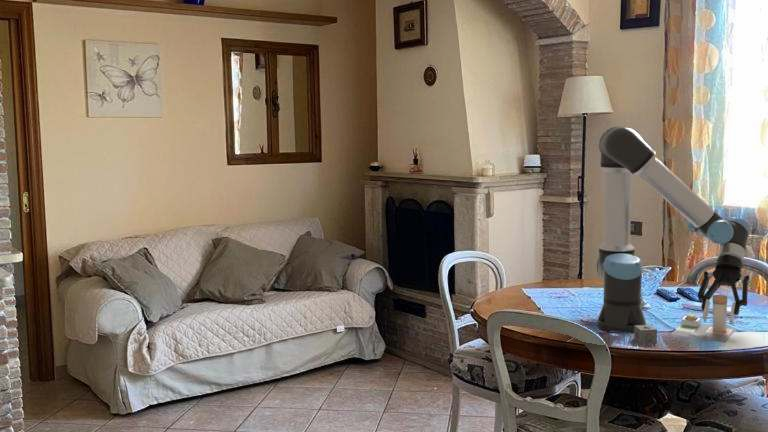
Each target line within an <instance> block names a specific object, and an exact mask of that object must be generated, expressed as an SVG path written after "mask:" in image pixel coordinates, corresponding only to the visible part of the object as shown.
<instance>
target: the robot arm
mask: <svg viewBox="0 0 768 432" xmlns="http://www.w3.org/2000/svg"><path fill="white" fill-rule="evenodd" d="M598 148H599V152H600V169H601V170H602V171H604V200H603V201H604V209H603V211H604V212H603V214H604V215H603V241H602V243H601V244H600V245H599V246H598V258H597V261H596V262H597V263H596V272H597V275H598V276H599V278H600V280H601V281H602V282H603V303H602V307H601V308H600V311H599V315H598V317H597V327H598V329H600V330H602V331H605V332H608V333H615V334H616V333H620V332H621V333H634V326H636V325H647V321H646V318H645V315H644V311H643V309H642V281H643V280H642V279H643V277H642V275H643V264H642V260H641V259H640V258H639V257H638V256H636V255H635V251H636V250H635V249H636V248H635V247H634V245H633V244H631V219H632V216H631V215H632V214H631V213H632V182H633V180H632V175H637V176H639V177H640V178H641V179H642V180H643V181H644V182H646V183H647V185H649V186H650V187H651V189H653V190H654V191H655V192H656V193H658V194H659V195H660V196H661V197H662V198H663V199H664V200H665V201H666V202H668V204H669V205H671V206H672V207H673V208H674V209H675V210H677V212H678V213H680V214H681V215H682V217H684V218H685V219H686V223H685V226H686V228H687V229H688V230H690V231H691V232H693V233H697V234H698V235H701V236H702V237H704V238H706V239H708V240H709V242H712V243H713V244H718V245H719V246H720V247H719V250H718V255H717V261H716V264H715V267H714V270H713V272H708V271H703V279H702V282H701V284H700V286H699V287H700V288H699V289H698V292H697V300H699V301H702V302H701V307H700V308H701V311H703V314H702V320H703V322H707V320H708V315H709V311H710V305H711V302H710V300H711V299H712V298H713V295H714V294H715V293H716V292H717V290H718V289H719V288H720V287H721V286H723V287H724V286H727V287H731V290H732V295H733V298H734V302H733V301H732V303H731V310H730V313H729V319H728V321H729V325H731V326H733V325H734V320H735V316H738V315H739V313H740V309H741V307H742V306H744V307H745V306H746V307H747V306H748V287H749V284H750V282H751V279H750V275H747V274H746V275H742V273H741V272H742V269H743V268H742V267H743V262H744V258H745V251H746V248H747V247H746V246H747V242H748V238H749V231H750V224H749V222H748V221H747V220H745V219H744V218H741V217H734V216H733V217H729V218H727V219H724V218H723V217H722V216H720V215H719V214H718V213H717V212H716V211H715V210H714V209H713V208H711V207H710V205H709V204H707V203H706V202H705V200H703V199H702V198H701V197H700V196H698V195H697V194H696V192H694V191H693V190H692V189H691V188H690V187H689V186H688V185H687V184H686V183H684V182H683V180H681V179H680V178H679V177H678V176H677V175H676V174H675V173H673V172H672V171H671V169H670V168H668V167H667V166H666V164H664V163H663V162H662V161H660V159H659V158H657V156H656V151H655V150H654V149H652V148H651V146H650V145H648V143H647V142H645V140H644V139H643V137H641V135H640V134H639V133H638V132H636V130H634V129H633V128H630V127H625V126H613V127H610V128H608V129H607V130H606V131H604V132H603V133H602V135H601V137H600V139H599V142H598ZM712 278H714V280H713V283H712V284H711V285H710V287H709V288H708V285H709V283H710V281H711V279H712ZM740 280H741V283H742V293H741V294H742V295H741V296H742V297H741V299H740V297H739V294H738V293H739V292H738V290H737V287H736V284H737V282H739V281H740ZM707 288H708V289H707Z"/></svg>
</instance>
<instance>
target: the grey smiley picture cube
mask: <svg viewBox="0 0 768 432" xmlns="http://www.w3.org/2000/svg"><path fill="white" fill-rule="evenodd" d="M633 339H634V340H635V341H636V342H637V343H639V344H657V343H658V329H657V328H656V327H654V326H653V325H651V324H646V325H636V326H634V332H633Z"/></svg>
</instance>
